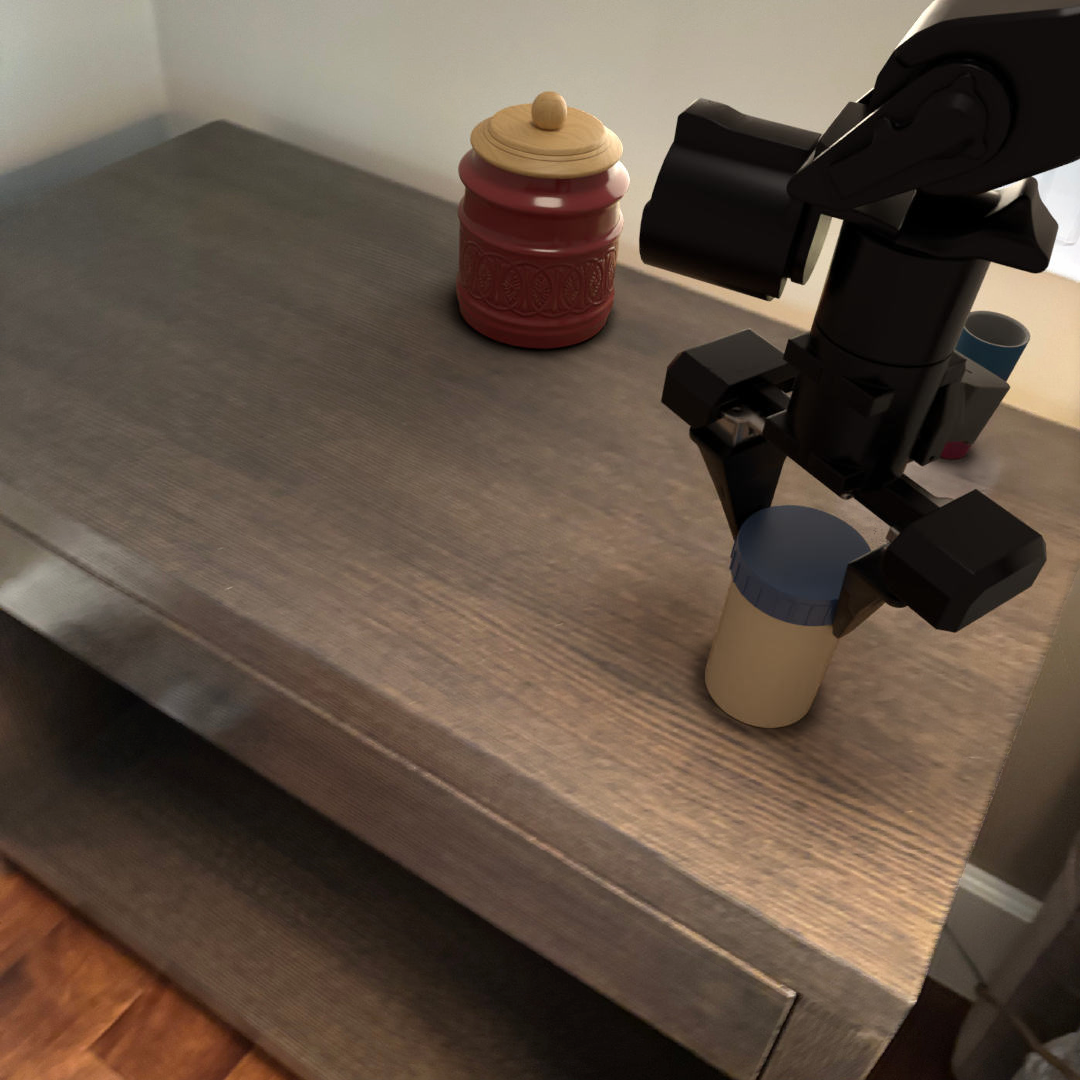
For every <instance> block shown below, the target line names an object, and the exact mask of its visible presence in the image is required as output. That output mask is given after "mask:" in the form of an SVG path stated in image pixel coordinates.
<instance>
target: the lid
mask: <svg viewBox="0 0 1080 1080" xmlns="http://www.w3.org/2000/svg"><path fill="white" fill-rule="evenodd" d="M870 551H872V549H871V547H870V545H869V543H868V542H867V541H866V539H865V538H864V536H863V535H861V533H860V532H859V531H858V530H857V529H856V528H855V527H853V526H852V525H850V524H849V523H848V522H847V521H845V520H843V519H842V518H840V517H838V516H836V515H834V514H833V513H829V512H827V511H824V510H822V509H818V508H815V507H812V506H807V505H800V504H778V505H771V507H768V508H764V509H762V510H759V511H757V512H756V513H754V514H752V515H751V516H750V517H748V518H747V519H746V521H745V522H744V523H743V524H742V526H741V528H740V530H739V533H738V537H737V539H736V538H735V541H734V540H733V545H732V549H731V551H730V556H729V558H730V563H729V567H728V570H730V574H731V575H730V576H731V578H733V582H734V583H735V585H736V587H737V589H738V590H739V591H740V593H741V595H743V596H744V597H745V599H746V600H747V601H748V602H750V603H751V604H752V605H753V606H754V607H756V608H757V609H759V610H760V611H762V612H763V613H765V614H767V615H769V616H771V617H773V618H776V619H778V620H781V621H784V622H787V623H791V624H795V625H802V626H825V625H831V624H833V617H834V613H835V609H836V606H837V602H838V598H839V595H840V591H841V587H842V583H843V579H844V576H845V572H846V568H847V565H848V563H849V562H851V561H853V560H855V559H857V558H859V557H861V556H863V555H865V554H867V553H869V552H870Z"/></svg>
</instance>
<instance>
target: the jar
mask: <svg viewBox="0 0 1080 1080" xmlns="http://www.w3.org/2000/svg"><path fill="white" fill-rule="evenodd" d="M832 629H833V624H831V625H825V626H802V625H795V624H791V623H787V622H784V621H781V620H778V619H776V618H773V617H771V616H769V615H767V614H765V613H763V612H762V611H760V610H759V609H757V608H756V607H754V606H753V605H752V604H751V603H750V602H748V601H747V600H746V599H745V597H744V596H743V595H741V593H740V591H739V590H738V589H737V587H736V585H735V583H734V582H733V578H732V577H731V579H730V582H729V586H728V589H727V593H726V595H725V600H724V603H723V606H722V610H721V613H720V617H719V620H718V623H717V627H716V631H715V634H714V637H713V641H712V644H711V648H710V651H709V654H708V657H707V662H706V665H705V669H704V682H705V687H706V689H707V691H708V694H709V695H710V697H711V699H712V700H713V701H714V703H715V704H716V705H717V706H718V707H719V708H720V709H721V710H722V711H723V712H725V713H726V714H727V715H728V716H730V717H732V718H733V719H735V720H737V721H739V722H741V723H743V724H746V725H749V726H753V727H756V728H757V727H758V728H764V729H776V728H778V729H779V728H783V727H787V726H790V725H792V724H796V723H797V722H798V721H800V720H801V719H803V718H804V717H805V716H806V715H807V713H809V711H810V710H811V707H812V705H813V703H814V701H815V698H816V696H817V693H818V692H819V689H820V687H821V684H822V682H823V679H824V676H825V675H826V672H827V669H828V667H829V665H830V662H831V660H832V657H833V655H834V652H835V650H836V649H837V646H838V644H839V641H840V639H837V638H836V637H835V636H834V635H833V634H832Z"/></svg>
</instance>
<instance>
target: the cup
mask: <svg viewBox="0 0 1080 1080" xmlns="http://www.w3.org/2000/svg"><path fill="white" fill-rule="evenodd" d="M1030 340H1031V333H1030V331H1029V330H1028V328H1027V327H1026V326H1025V325H1024V324H1023V323H1021V322H1020V321H1019V320H1017V319H1015V318H1014V317H1011V316H1009V315H1006V314H1003V313H1001V312H997V311H991V310H973V311H970V314H969V316H968V319H967V321H966V323H965V326H964V328H963V331H962V333H961V335H960V338H959V340H958V343H957V345H956V347H955V350H956V351H958V352H960V353H961V354H963V355H964V356H966V357H968V358H969V359H971V360H972V361H974V362H976V363H977V364H979V365H980V366H982V367H984V368H985V369H987V370H988V371H990V372H992V373H993V374H995V375H997V376H998V377H1000V378H1001V379H1003V380H1004V381H1006V382H1007V383H1008V380H1009V378H1010V376H1011V375H1012V373H1013V371H1014V369H1015V367H1016V366H1017V364H1018V362H1019V360H1020V358H1021V356H1022V355H1023V353H1024V351H1025V349H1026V347H1027V345H1028V344H1029V342H1030ZM972 445H973V444H971V445H966V444H965V443H963V441H962V442H946V444H945V446H944V449H943V451H942V453H941V455H940V458H943V459H947V460H956V459H957V460H958V459H961V458H964V457H965V456H966V455H967V453H968V452H969V450H970V448H971V447H972Z"/></svg>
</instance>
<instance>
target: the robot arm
mask: <svg viewBox="0 0 1080 1080" xmlns="http://www.w3.org/2000/svg"><path fill="white" fill-rule="evenodd" d="M1079 160H1080V0H934V1H932V2H931V3H930V5H929V6H928V7H926V9H925V10H924V11H923V12H922V13H921V15H920V16H919V17H918V19H917V20H916V21H915V22H914V24H913V25H912V27H911V28H910V29H909V30H908V31H907V33H905V35H904V37H903V38H902V40H901V41H900V42H899V43H898V45H897V46H896V48H894V50H893V51H892V53H891V54H890V56H889V57H888V59H887V61H886V62H885V63H884V65H883V66H882V68H881V70H880V71H879V72H878V75H877V76H876V79H875V83H874V86H873V87H872V88H871V89H870V90H868V91H867V92H866V93H865V94H863V95H862V96H861V97H860V98H859V99H857V100H856V101H847V103H846V104H844V106H843V107H842V109H840V111H839V112H838V114H837V115H836V116H835V118H834V119H833V120H832V122H831V123H830V124H829V126H828V127H827V128H826V129H825V131H824V132H823V133H821V132H817V131H813V130H810V129H804V128H802V127H801V128H800V127H797V126H793V125H790V124H785V123H782V122H778V121H774V120H770V119H766V118H762V117H758V116H753V115H750V114H746V113H743V112H741V111H740V110H738V109H736V108H734V107H732V106H730V105H729V104H726V103H722V102H720V101H717V100H711V99H707V98H705V97H704V98H703V97H698V98H696V99H695V100H693V102H691V103H690V104H689V105H688V106H687V107H686V108H685V109H684V110H683V111H682V112H680V113H679V114H678V115H677V119H676V124H675V130H674V137H673V141H672V143H671V145H670V147H669V148H668V151H667V153H666V155H665V157H664V158H663V161H662V164H661V167H660V169H659V171H658V174H657V176H656V177H657V178H656V180H655V184H654V186H653V189H652V192H651V195H650V196H651V197H650V199H649V200H648V201H647V202H646V203H645V205H644V206H643V209H642V213H641V220H640V224H639V236H638V251H639V252H638V253H639V255H640V256H639V257H640V260H641V261H642V263H643V264H644V265H647V266H651V267H653V268H656V269H660V270H664V271H667V272H669V273H673V274H677V275H680V276H683V277H686V278H689V279H693V280H696V281H699V282H703V283H705V284H709V285H713V286H715V287H720V288H723V289H726V290H730V291H731V292H735V293H739V294H742V295H746V296H749V297H752V298H757V299H758V300H763V301H765V302H772V301H773V300H774V299H778V300H780V299H781V296H782V295H783V292H784V290H785V287H786V284H787V282H788V279H789V280H790V282H792V283H794V284H797V285H801V286H806V284H807V283H808V281H809V280H810V278H811V276H812V274H813V272H814V269H815V268H816V266H817V263H818V260H819V258H820V256H821V253H822V250H823V248H824V245H825V242H826V239H827V236H828V233H829V231H830V227H831V224H832V220H833V218H834V219H838V220H841V221H842V223H841V226H840V230H839V233H838V237H837V240H836V244H835V246H834V250H833V253H832V257H831V259H830V262H829V263H830V264H829V267H828V270H827V273H826V277H825V279H824V280H825V281H824V284H823V287H822V291H821V293H820V296H819V299H818V304H817V307H816V310H815V314H814V317H813V319H812V324H811V328H810V330H809V331H805V332H802V333H800V334H798V335H795V336H793V337H790V338H787V342H786V346H785V348H784V351H783V350H781V349H780V348H779V347H777V346H775V345H774V344H773V343H771V342H769V341H768V340H767V339H765V338H764V337H763V336H761V335H760V334H758V333H757V332H756V331H754V330H753V329H752V328H750V327H748V328H745V329H742V330H739V331H737V332H734V333H730V334H728V335H725V336H722V337H719V338H716V339H713V340H710V341H708V342H706V343H701V344H699V345H697V346H694V347H691V348H688V349H685V350H683V351H680V352H678V353H677V354H676V355H675V357H674V358H673V359H672V360H671V361H670V363H669V364H668V365H667V367H666V372H665V377H664V382H663V388H662V393H661V399H660V403H661V404H663V405H664V406H665V407H666V408H667V409H669V410H670V411H671V412H672V413H673V414H675V415H676V416H677V417H678V418H680V419H681V420H682V421H683V422H684V423H686V425H688V426H689V429H688V436H689V439H690V440H691V441H692V442H693V443H694V444H695V445H696V446H697V448H698V450H699V452H700V455H701V456H702V459H703V462H704V464H705V466H706V469H707V471H708V473H709V476H710V479H711V481H712V483H713V485H714V488H715V490H716V493H717V496H718V499H719V501H720V504H721V507H722V510H723V513H724V516H725V519H726V521H727V524H728V527H729V530H730V533H731V536H732V539H733V542H734V541H735V538H736V539H737V537H738V533H739V530H740V528H741V526H742V524H743V523H744V522H745V521H746V519H747V518H748V517H750V516H751V515H752V514H754V513H756V512H757V511H759V510H762V509H764V508H768V507H772V505H773V501H774V497H775V494H776V490H777V488H778V484H779V480H780V477H781V473H782V470H783V467H784V464H785V461H786V459H787V458H788V459H790V460H792V461H793V462H794V463H796V464H797V465H798V466H799V467H800V468H802V469H803V470H804V471H806V472H807V473H808V474H809V475H811V476H812V477H813V478H815V479H816V480H817V481H818V482H819V483H821V484H822V485H823V486H824V487H826V488H827V489H829V491H831V492H832V493H834V494H835V495H836V496H837V497H839V498H840V499H842V500H845V501H848V500H851V499H854V500H855V501H856V502H858V503H859V504H860V505H862V507H864V508H866V510H868V511H869V512H870V513H872V514H873V515H874V516H876V517H877V518H878V519H880V521H882V522H883V523H885V524H886V525H887V526H889V529H888V532H887V534H886V536H885V540H887V541H886V542H884V543H883V544H882V545H880V546H878V547H876V548H874V549H871V551H870V552H869V553H867V554H865V555H863V556H861V557H859V558H857V559H855V560H853V561H851V562H849V563H848V565H847V568H846V572H845V576H844V579H843V583H842V587H841V591H840V595H839V598H838V602H837V606H836V609H835V613H834V617H833V629H832V634H833V635H834V636H835V637H836V638H837V639H839V640H840V639H841V638H843V637H846V635H848V634H850V633H851V632H853V631H855V629H857V628H859V626H860V625H862V624H863V622H865V621H866V620H867V619H868V618H869V617H871V616H872V615H873V614H874V613H876V611H877V610H879V609H880V608H881V607H882V606H884V605H885V604H887V605H888V606H890V607H892V608H896V609H904V608H906V607H908V608H909V609H911V610H912V611H913V612H914V613H915V614H916V615H918V616H919V617H920V618H921V619H922V620H924V621H925V622H926V623H927V624H928V625H930V626H931V627H932V628H933V629H935V630H939V631H944V632H948V633H955V634H956V633H958V632H960V631H961V630H963V629H964V628H966V627H967V626H969V625H971V624H972V623H975V622H976V621H977V620H979V619H981V618H983V617H984V616H986V615H987V614H989V613H990V612H992V611H995V609H997V608H999V607H1000V606H1002V605H1004V604H1005V603H1007V602H1009V601H1010V600H1012V599H1013V598H1015V597H1017V596H1018V595H1021V594H1022V593H1023V592H1025V591H1027V590H1029V589H1030V588H1031V587H1032V586H1033V585H1034V583H1035V581H1036V580H1037V578H1038V576H1039V575H1040V573H1041V571H1042V569H1043V567H1044V566H1045V565H1046V562H1047V561H1048V557H1047V543H1046V541H1045V538H1044V536H1043V535H1042V534H1041V533H1040V532H1038V531H1036V530H1035V529H1034V528H1032V527H1031V526H1030V525H1028V524H1026V523H1025V522H1024V521H1022V519H1019V517H1017V516H1015V515H1014V514H1012V513H1011V512H1010V511H1009V510H1007V509H1005V508H1004V507H1003V506H1001V505H1000V504H999V503H997V502H995V500H994V499H991V497H988V496H987V495H986V494H985V493H983V492H982V491H980V490H979V489H977V488H974V489H972V490H971V491H968V492H967V493H964V494H963V495H960V496H959V497H957V498H952V497H946V496H943V497H939V496H936V495H934V494H933V493H932V492H929V490H927V489H926V488H924V487H923V486H921V485H920V484H918V483H917V481H915V480H914V479H912V478H911V477H910V476H908V475H907V474H905V471H906V468H907V466H908V464H910V463H912V462H914V463H916V464H917V465H918V466H920V467H924V466H927V465H928V464H931V463H933V462H935V461H937V460H939V459H940V458H941V457H940V455H941V453H942V451H943V449H944V446H945V444H946V442H962V441H963V443H965V444H966V445H971V444H972V445H974V443H975V442H976V441H977V439H978V438H979V436H980V435H981V433H982V432H983V430H984V429H985V427H986V425H987V424H988V423H989V421H990V420H991V418H992V417H993V415H994V414H995V412H996V410H997V409H998V408H999V406H1000V405H1001V403H1002V401H1003V400H1004V399H1005V398H1006V396H1007V394H1008V393H1009V391H1010V389H1011V385H1010V384H1009V383H1008V381H1007V382H1006V381H1004V380H1003V379H1001V378H1000V377H998V376H997V375H995V374H993V373H992V372H990V371H988V370H987V369H985V368H984V367H982V366H980V365H979V364H977V363H976V362H974V361H972V360H971V359H969V358H968V357H966V356H964V355H963V354H961V353H960V352H958V351H956V350H955V347H956V345H957V343H958V340H959V338H960V335H961V333H962V331H963V328H964V326H965V323H966V321H967V319H968V316H969V314H970V312H972V308H973V306H974V304H975V301H976V299H977V297H978V294H979V292H980V290H981V287H982V285H983V282H984V280H985V277H986V275H987V272H988V270H989V268H990V266H991V263H992V264H997V265H1000V266H1005V267H1008V268H1012V269H1014V270H1015V269H1016V270H1019V271H1023V272H1026V273H1028V274H1029V273H1031V274H1034V275H1035V274H1036V275H1037V274H1041V273H1043V272H1045V271H1047V269H1048V268H1049V265H1050V262H1051V258H1052V255H1053V251H1054V246H1055V244H1056V240H1057V236H1058V231H1059V223H1058V222H1057V220H1056V219H1055V217H1054V216H1053V215H1052V213H1051V212H1050V210H1049V209H1048V207H1047V206H1046V204H1044V202H1043V200H1042V198H1041V195H1040V192H1039V182H1038V179H1037V178H1036V177H1034V176H1037V175H1040V174H1043V173H1046V172H1049V171H1052V170H1055V169H1057V168H1060V167H1064V166H1067V165H1069V164H1072V163H1074V162H1077V161H1079ZM1011 184H1012V185H1011ZM1008 185H1010V186H1008ZM1005 186H1006V187H1005ZM788 393H791V395H789V394H788ZM972 445H971V446H972Z"/></svg>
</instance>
